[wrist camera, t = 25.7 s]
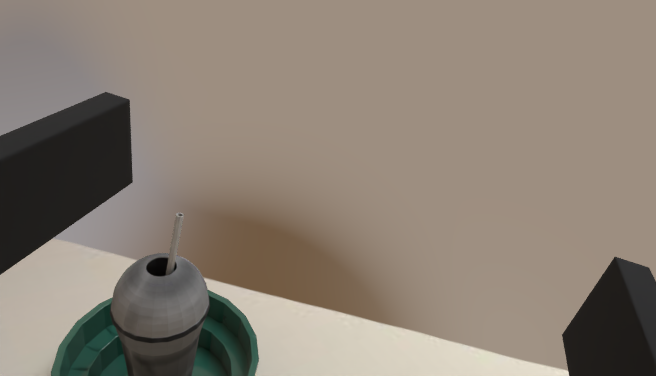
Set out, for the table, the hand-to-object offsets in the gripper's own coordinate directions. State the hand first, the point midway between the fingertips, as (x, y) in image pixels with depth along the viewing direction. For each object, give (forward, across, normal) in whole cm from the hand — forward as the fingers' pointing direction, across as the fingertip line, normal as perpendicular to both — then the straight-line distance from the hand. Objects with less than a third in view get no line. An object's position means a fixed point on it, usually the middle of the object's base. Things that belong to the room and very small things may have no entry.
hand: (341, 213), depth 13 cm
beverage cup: (+12, -14, -33) cm, 38 cm away
